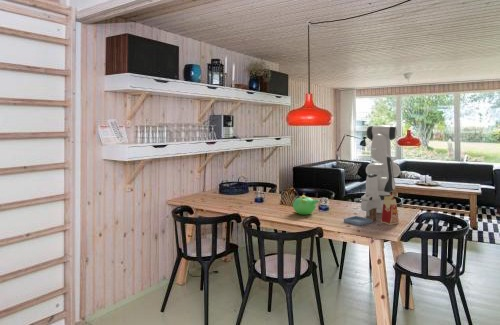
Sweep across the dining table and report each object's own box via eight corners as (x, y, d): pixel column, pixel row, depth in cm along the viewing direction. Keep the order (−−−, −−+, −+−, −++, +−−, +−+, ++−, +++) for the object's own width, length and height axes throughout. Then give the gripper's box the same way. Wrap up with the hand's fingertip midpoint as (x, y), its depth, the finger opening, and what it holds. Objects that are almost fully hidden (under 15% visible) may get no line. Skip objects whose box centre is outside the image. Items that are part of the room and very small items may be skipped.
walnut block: (370, 218, 268) (370, 206, 267) (376, 220, 264) (376, 208, 263) (366, 219, 265) (366, 207, 264) (372, 221, 261) (372, 209, 260)
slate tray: (355, 219, 268) (355, 215, 268) (372, 222, 257) (372, 219, 257) (343, 222, 260) (343, 218, 259) (360, 226, 248) (360, 222, 248)
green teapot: (308, 211, 295) (308, 193, 294) (320, 215, 280) (320, 196, 278) (289, 213, 287) (289, 195, 286) (300, 217, 272) (301, 198, 271)
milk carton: (398, 223, 256) (399, 195, 254) (390, 225, 251) (391, 196, 249) (387, 220, 264) (388, 193, 262) (379, 222, 259) (380, 194, 257)
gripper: (376, 194, 272) (375, 212, 273) (359, 197, 259) (359, 216, 261) (383, 195, 267) (383, 213, 268) (367, 198, 254) (366, 218, 256)
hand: (371, 215), depth 264 cm, fingers closed on walnut block, 5 cm apart
